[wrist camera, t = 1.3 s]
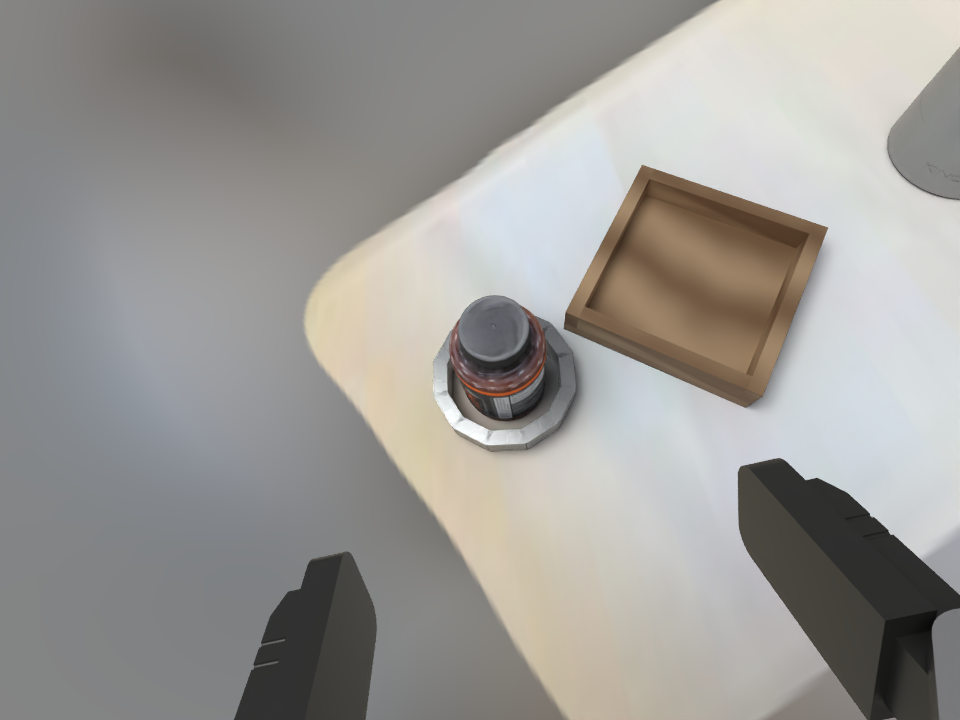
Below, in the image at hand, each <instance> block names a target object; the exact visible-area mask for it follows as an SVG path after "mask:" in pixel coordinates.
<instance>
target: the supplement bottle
mask: <svg viewBox="0 0 960 720" xmlns="http://www.w3.org/2000/svg"><path fill="white" fill-rule="evenodd" d="M449 353H450V359H451V363H452V365H453V368H454V370H455V372H456V375H457V376H458V378H459V380H460V382H461V384H462V386H463V389H464V390H465V392H466V395H467V397H468V399H469V400H470V402H471V403H472V404H473V406H474V407H475V408H476V409H477V410H478V411H479V412H481V413H482V414H483V415H485V416H487V417H489V418H492V419H496V420H514V419H517V418H520V417H522V416H524V415H526V414H527V413H529V412H530V411H531V410H532V409H533V408H534V407H535V406H536V405H537V403H538V402H539V400H540V398H541V396H542V394H543V390H544V385H545V368H546V339H545V335H544V331H543V329H542V327H541V325H540V323H539V321H538V320H537V318H536V317H535V316H534V315H533V314H532V313H531V312H530V311H528V310H527V309H526V308H524V307H522V306H520V305H519V304H518V303H517V302H515V301H514V300H512V299H509V298H507V297H504V296H496V295H494V296H486V297H483V298H480V299H478V300H476V301H474V302H473V303H472V304H470V305H469V306H468V307H467V308H466V309H465V310H464V312H463V314H462V315H461V318H460V319H459V320H458V321H457V323H456V325H455V326H454V328H453V331H452V333H451V337H450V342H449Z"/></svg>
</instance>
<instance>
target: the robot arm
mask: <svg viewBox="0 0 960 720" xmlns="http://www.w3.org/2000/svg"><path fill="white" fill-rule="evenodd" d="M888 150H889V155H890V158H891V160H892V162H893V164H894V166H895V167H896V168H897V169H898V170H899V172H900V173H901V174H902V175H903V176H904V177H905V178H907V179H908V180H909V181H910V182H911V183H913V184H915V185H916V186H918V187H920V188H921V189H923V190H925V191H928V192H931V193H933V194H936V195H939V196H944V197H948V198H957V199H960V47H959V48H958V49H957V51H956V52H955V53H954V54H953V55H952V57H951V58H950V59H949V60H948V61H947V62H946V64H945V65H944V66H943V67H942V68H941V70H940V71H939V72H938V73H937V74H936V76H935V77H934V78H933V79H932V80H931V81H930V82H929V84H928V85H927V86H926V87H925V88H924V89H923V91H922V92H921V93H920V94H919V95H918V97H917V98H916V99H915V100H914V101H913V103H912V104H911V105H910V106H909V107H908V109H907V110H906V111H905V112H904V113H903V114H902V116H901V117H900V118H899V119H898V120H897V122H896V123H895V124H894V126H893V127H892V128H891V131H890V134H889V136H888ZM738 513H739V530H740V534H741V537H742V540H743V543H744V545H745V547H746V549H747V551H748V553H749V555H750V556H751V558H752V559H753V560H754V562H755V563H756V565H757V566H758V567H759V569H760V570H761V572H762V573H763V574H764V576H765V577H766V579H767V580H768V581H769V583H770V584H771V586H772V587H773V588H774V590H775V591H776V593H777V594H778V595H779V597H780V598H781V600H782V601H783V602H784V604H785V605H786V607H787V608H788V609H789V611H790V612H791V614H792V615H793V616H794V618H795V619H796V621H797V622H798V623H799V625H800V626H801V628H802V629H803V630H804V632H805V633H806V635H807V636H808V637H809V639H810V640H811V642H812V643H813V644H814V646H815V647H816V649H817V650H818V651H819V653H820V654H821V656H822V657H823V658H824V660H825V661H826V663H827V664H828V665H829V667H830V668H831V670H832V671H833V672H834V674H835V675H836V676H837V678H838V679H839V681H840V682H841V684H842V685H843V686H844V688H845V689H846V691H847V692H848V693H849V695H850V696H851V697H852V699H853V700H854V702H855V703H856V704H857V706H858V707H859V709H860V710H861V712H862V713H863V714H864V716H865V717H866V719H867V720H884V719H889V718H893V717H895V718H896V719H897V720H960V595H959V594H958V593H957V592H956V591H954V589H952V588H951V587H950V586H949V585H948V584H947V583H946V582H945V581H944V580H943V579H941V578H940V577H939V576H938V575H937V574H936V573H935V572H934V571H933V570H931V569H930V568H929V567H928V566H927V565H926V564H925V563H924V562H923V561H922V560H921V559H919V558H918V557H917V556H916V555H915V554H914V553H913V552H912V551H911V550H910V549H908V548H907V547H906V546H905V545H904V544H903V543H902V542H901V541H900V540H899V539H897V538H896V537H895V536H894V535H890V534H889V532H888V529H886V528H885V527H884V526H883V525H882V524H881V523H880V522H879V521H878V520H877V519H875V518H874V517H873V518H872V517H871V516H870V513H869V512H868V511H867V510H866V509H864V508H863V507H862V506H861V505H860V504H859V503H858V502H857V501H856V500H855V499H853V498H852V497H851V496H850V495H849V494H848V493H847V492H845V491H843V490H841V489H839V488H837V487H835V486H833V485H831V484H829V483H827V482H825V481H823V480H821V479H819V478H815V479H810V480H805V479H804V478H803V477H802V476H801V475H800V474H799V473H798V472H797V471H795V470H794V469H793V468H792V467H791V466H790V465H789V464H788V463H787V462H786V461H785V460H783V459H781V458H777V459H772V460H768V461H763V462H759V463H754V464H749V465H745V466H741V467H740V468H739V471H738ZM376 627H377V626H376V614H375V609H374V605H373V602H372V600H371V598H370V595H369V593H368V590H367V588H366V586H365V584H364V581H363V579H362V576H361V574H360V572H359V570H358V567H357V565H356V563H355V560H354V558H353V556H352V555H351V553H349V552H343V553H339V554H334V555H329V556H325V557H320V558H316V559H312V560H311V561H310V562H309V564H308V566H307V570H306V572H305V576H304V579H303V582H302V586H301V589H299V590H294V591H290V592H288V593H287V594H286V595H285V597H284V598H283V600H282V601H281V602H280V604H279V605H278V606H277V608H276V609H275V610H274V612H273V613H272V615H271V616H270V619H269V621H268V624H267V627H266V630H265V633H264V636H263V639H262V642H261V643H262V646H261V647H260V648H259V650H258V653H257V656H256V659H255V662H254V670H251V673H250V676H249V679H248V682H247V684H246V687H245V690H244V693H243V696H242V699H241V702H240V705H239V707H238V710H237V713H236V717H235V719H234V720H365V719H366V711H367V703H368V696H369V688H370V680H371V672H372V664H373V657H374V649H375V641H376V631H377V628H376Z"/></svg>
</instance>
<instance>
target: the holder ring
mask: <svg viewBox="0 0 960 720" xmlns="http://www.w3.org/2000/svg"><path fill="white" fill-rule="evenodd" d="M535 317H536V316H535ZM536 318H537V320H538V321H539V323H540V325H541V327H542V329H543V331H544V335H545V339H546V352H547V354H548V355H549V356H550V358H551V359H552V360H553V362H554V363H555V365H556V366H557V367H558V378H559V391H558V393H557V395H556V397H555V399H554V401H553V403H552V405H551V407H550V409H549V411H548V412H547V413H545V414H544V415H542V416H541V417H539V418H538V419H536V420H535V421H533V422H531V423H530V424H528V425H527V426H525V427H524V428H522V429H511V430H493V431H490V430H488V429H486V428H484V427H482V426H480V425H478V424H476V423H474V422H472V421H470V420H468V419H466V418H464V417H463V416H462V415H461V413H460V411H459V410H458V408H457V407H456V405H455V403H454V402H453V376H452V374H453V372H454V371H455V370H454V368H453V365H452V363H451V359H450V353H449V342H450V337H451V333H452V331H453V329H452V331H450V333H449V335H448V337H447V338H446V340H445V342H444V343H443V345H442V347H441V349H440V350H439V352H438V354H437V356H436V357H435V359H434V361H433V396H434V398H435V400H436V402H437V403H438V405H439V406H440V408H441V410H442V411H443V413H444V415H445V416H446V418H447V419H448V421H449V423H450V424H451V426H452V428H453V429H454V430H455V432H456V433H457V434H458V435H459V436H461V437H463V438H465V439H467V440H469V441H471V442H472V443H474V444H476V445H478V446H480V447H482V448H484V449H486V450H488V451H491V452H492V451H512V450H527V449H529V448H531V447H532V446H534V445H535V444H537V443H538V442H540V441H541V440H543V439H544V438H546V437H548V436H549V435H551V434H552V433H554V432H555V431H557V430H558V429H559V427H560V425H561V423H562V421H563V419H564V417H565V415H566V413H567V411H568V409H569V407H570V405H571V402H572V400H573V398H574V395H575V390H576V381H575V371H574V361H573V352H572V350H571V349H570V348H569V346H568V345H567V344H566V342H565V341H564V340H563V338H562V337H561V336H560V334H559V333H558V332H557V330H556V329H555V328H554V326H553V325H552V324H551V323H550V322H548V321H545V320H543V319H541V318H539V317H536Z"/></svg>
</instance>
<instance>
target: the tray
mask: <svg viewBox="0 0 960 720" xmlns="http://www.w3.org/2000/svg"><path fill="white" fill-rule="evenodd" d="M827 229H828V227H825V226H822V225H819V224H816V223H813V222H810V221H807V220H804V219H801V218H798V217H795V216H792V215H789V214H786V213H783V212H780V211H777V210H774V209H771V208H768V207H765V206H762V205H760V204H757V203H754V202H751V201H748V200H745V199H742V198H739V197H736V196H733V195H730V194H727V193H724V192H721V191H718V190H715V189H712V188H709V187H706V186H703V185H700V184H697V183H694V182H691V181H688V180H685V179H683V178H680V177H677V176H674V175H671V174H668V173H665V172H662V171H659V170H656V169H653V168H650V167H647V166H644V165H642V166H641V168H640V170H639V172H638V174H637V176H636V178H635V180H634V182H633V184H632V186H631V188H630V190H629V191H628V193H627V195H626V197H625V199H624V201H623V203H622V205H621V207H620V209H619V211H618V213H617V215H616V216H615V218H614V220H613V222H612V224H611V226H610V228H609V230H608V232H607V234H606V236H605V238H604V239H603V241H602V243H601V245H600V247H599V249H598V251H597V253H596V255H595V257H594V259H593V261H592V263H591V264H590V266H589V268H588V270H587V272H586V274H585V276H584V278H583V280H582V282H581V284H580V286H579V288H578V289H577V291H576V293H575V295H574V297H573V299H572V301H571V303H570V305H569V307H568V309H567V311H566V313H565V322H564V329H566V330H568V331H571V332H573V333H575V334H578V335H580V336H582V337H584V338H587V339H589V340H591V341H594V342H596V343H598V344H601V345H603V346H605V347H607V348H610V349H612V350H614V351H617V352H619V353H621V354H624V355H626V356H628V357H630V358H633V359H635V360H637V361H640V362H642V363H644V364H646V365H649V366H651V367H653V368H656V369H658V370H660V371H663V372H665V373H667V374H669V375H672V376H674V377H676V378H679V379H681V380H683V381H686V382H688V383H690V384H692V385H695V386H697V387H699V388H702V389H704V390H706V391H708V392H711V393H713V394H715V395H718V396H720V397H722V398H725V399H727V400H729V401H731V402H734V403H736V404H738V405H741V406H743V407H745V408H746V407H747V406H749V405H750V404H752V403H753V402H755V401H756V400H758V399H759V398H761V397H762V396H763V394H764V391H765V389H766V386H767V384H768V381H769V378H770V376H771V373H772V371H773V368H774V366H775V363H776V360H777V358H778V355H779V353H780V350H781V348H782V345H783V342H784V340H785V337H786V335H787V332H788V330H789V327H790V324H791V322H792V319H793V317H794V314H795V312H796V309H797V306H798V304H799V301H800V299H801V296H802V294H803V291H804V288H805V286H806V283H807V281H808V278H809V276H810V273H811V270H812V268H813V265H814V263H815V260H816V258H817V255H818V252H819V250H820V247H821V245H822V242H823V240H824V237H825V234H826V232H827Z"/></svg>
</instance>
